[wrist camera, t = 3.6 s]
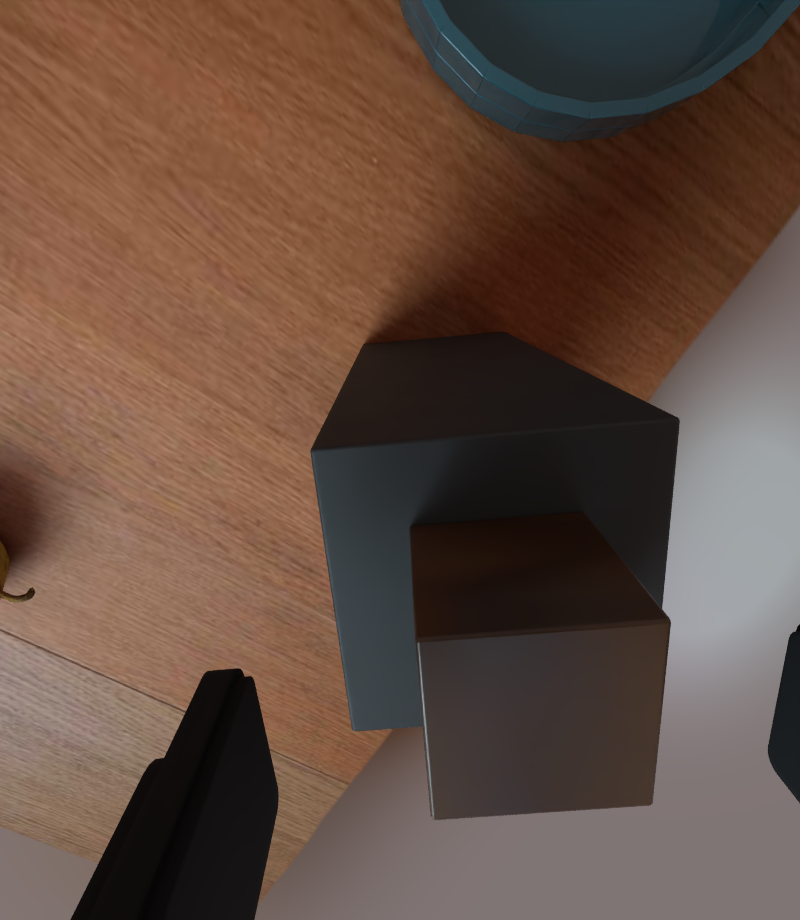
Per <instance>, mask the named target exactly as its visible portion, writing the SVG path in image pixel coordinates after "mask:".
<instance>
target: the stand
mask: <svg viewBox="0 0 800 920" xmlns="http://www.w3.org/2000/svg"><path fill="white" fill-rule="evenodd" d="M679 423H680V421H679V418H677V417H675V416H673V415H671V414H669V413H667V412H665V411H663V410H661V409H659V408H657V407H655V406H653V405H651V404H649V403H647V402H645V401H643V400H641V399H639V398H637V397H635V396H633V395H631V394H629V393H627V392H625V391H623V390H621V389H619V388H617V387H615V386H613V385H611V384H609V383H607V382H605V381H603V380H601V379H599V378H597V377H595V376H593V375H591V374H589V373H587V372H585V371H583V370H581V369H579V368H577V367H574V366H572V365H570V364H568V363H566V362H564V361H562V360H560V359H558V358H556V357H554V356H552V355H550V354H548V353H546V352H544V351H542V350H540V349H538V348H536V347H534V346H532V345H530V344H528V343H526V342H524V341H522V340H520V339H518V338H516V337H514V336H512V335H510V334H508V333H506V332H497V333H486V334H474V335H463V336H452V337H441V338H429V339H418V340H407V341H395V342H384V343H373V344H364V345H363V346H362V348H361V350H360V352H359V354H358V356H357V358H356V360H355V362H354V364H353V366H352V368H351V370H350V372H349V374H348V376H347V378H346V380H345V382H344V384H343V386H342V388H341V390H340V392H339V394H338V396H337V398H336V400H335V402H334V404H333V406H332V408H331V410H330V412H329V414H328V416H327V418H326V420H325V422H324V424H323V426H322V428H321V430H320V432H319V434H318V436H317V438H316V440H315V442H314V444H313V446H312V448H311V451H310V452H311V459H312V465H313V472H314V479H315V485H316V492H317V499H318V505H319V512H320V519H321V525H322V532H323V539H324V545H325V552H326V558H327V565H328V572H329V578H330V585H331V592H332V598H333V605H334V612H335V618H336V625H337V632H338V638H339V645H340V652H341V658H342V665H343V672H344V678H345V685H346V692H347V698H348V705H349V712H350V718H351V725H352V729H353V731H366V730H380V729H394V728H407V727H422V726H423V725H422V714H421V703H420V692H419V681H418V670H417V660H416V649H415V636H414V616H413V597H412V577H411V557H410V538H409V528H410V526H416V525H429V524H441V523H454V522H466V521H478V520H491V519H503V518H516V517H528V516H541V515H553V514H565V513H578V512H583V513H585V514H586V515H587V516H588V518H589V519H590V520H591V521H592V523H593V524H594V525H595V526H596V528H597V529H598V530H599V531H600V533H601V534H602V535H603V536H604V538H605V539H606V540H607V541H608V542H609V544H610V545H611V546H612V547H613V549H614V550H615V551H616V552H617V554H618V555H619V556H620V557H621V559H622V560H623V561H624V562H625V564H626V565H627V566H628V567H629V569H630V570H631V571H632V572H633V574H634V575H635V576H636V577H637V579H638V580H639V581H640V582H641V584H642V585H643V586H644V587H645V589H646V590H647V591H648V592H649V594H650V595H651V596H652V597H653V599H654V600H655V601H656V602H657V604H658V605H659V606H660V607H661V608H662V603H663V592H664V582H665V572H666V561H667V550H668V540H669V529H670V519H671V508H672V498H673V486H674V476H675V465H676V455H677V445H678V434H679Z"/></svg>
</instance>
